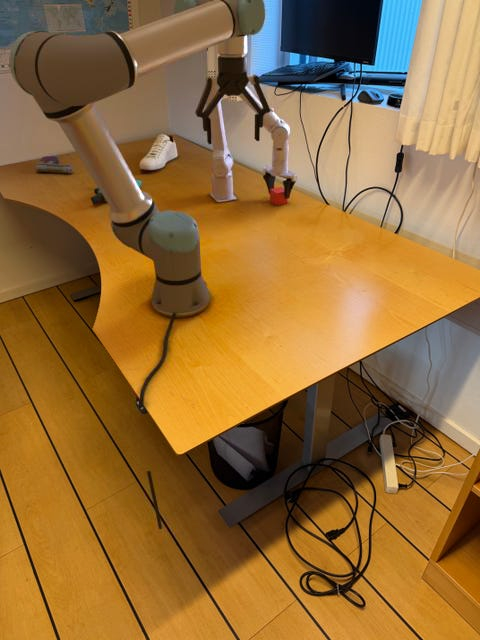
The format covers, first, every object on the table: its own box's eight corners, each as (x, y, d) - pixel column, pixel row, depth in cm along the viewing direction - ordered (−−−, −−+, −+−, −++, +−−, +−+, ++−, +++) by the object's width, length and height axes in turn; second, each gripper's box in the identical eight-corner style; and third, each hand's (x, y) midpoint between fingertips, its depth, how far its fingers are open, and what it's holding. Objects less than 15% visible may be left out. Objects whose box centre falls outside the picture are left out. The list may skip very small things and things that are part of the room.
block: (287, 203, 179) (288, 190, 176) (276, 205, 178) (276, 193, 175) (280, 198, 183) (281, 186, 180) (269, 200, 181) (270, 188, 178)
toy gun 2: (68, 191, 178) (99, 198, 173) (113, 171, 197) (142, 177, 191) (70, 203, 181) (101, 210, 175) (115, 182, 199) (143, 188, 194)
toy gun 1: (85, 164, 218) (69, 176, 206) (48, 162, 221) (31, 173, 209) (84, 156, 216) (67, 167, 204) (46, 154, 219) (28, 164, 207)
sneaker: (133, 173, 208) (129, 144, 201) (161, 153, 230) (158, 127, 223) (155, 175, 205) (151, 146, 198) (180, 155, 227) (178, 129, 220)
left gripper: (275, 51, 126) (272, 135, 138) (181, 55, 121) (187, 140, 134) (283, 55, 120) (280, 142, 132) (185, 59, 115) (191, 148, 128)
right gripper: (257, 157, 172) (257, 193, 180) (289, 166, 164) (287, 203, 172) (270, 153, 176) (269, 188, 184) (301, 161, 168) (299, 197, 176)
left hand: (233, 141), depth 133 cm, fingers open, 13 cm apart
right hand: (278, 195), depth 179 cm, fingers open, 7 cm apart
